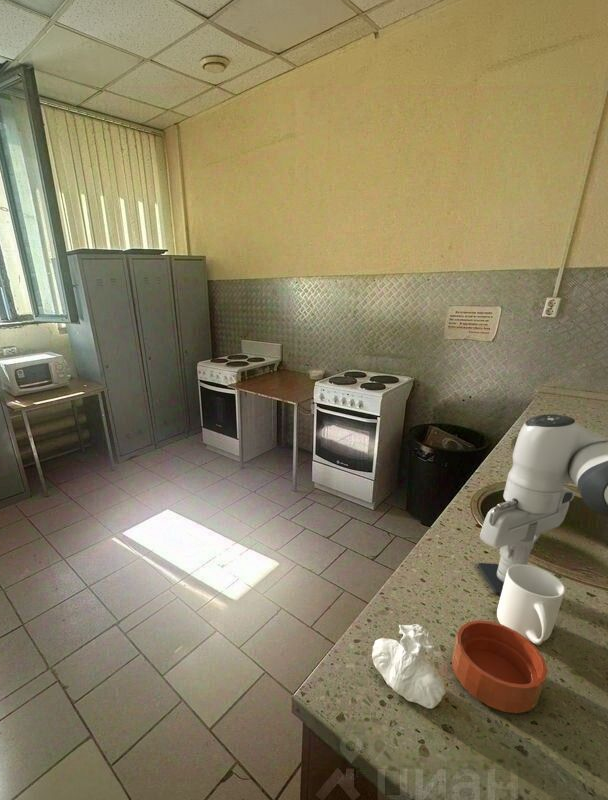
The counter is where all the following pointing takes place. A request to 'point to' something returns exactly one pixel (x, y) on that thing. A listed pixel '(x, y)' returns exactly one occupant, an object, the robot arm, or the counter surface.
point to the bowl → (498, 666)
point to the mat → (492, 576)
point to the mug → (530, 601)
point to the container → (517, 553)
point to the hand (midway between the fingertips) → (515, 552)
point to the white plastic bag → (410, 666)
